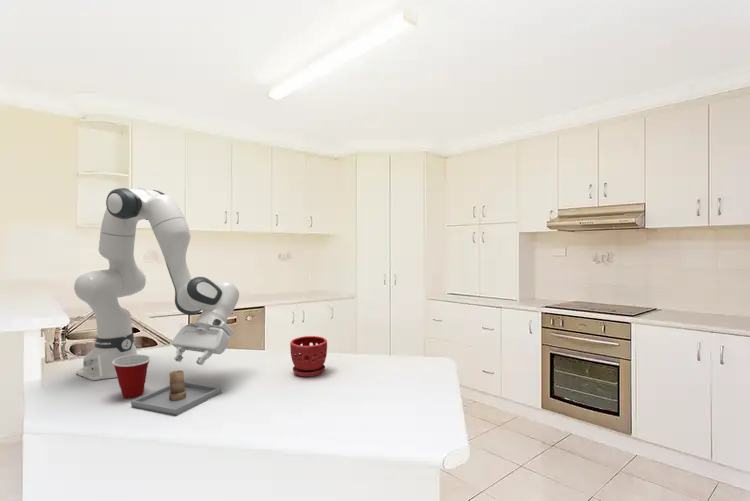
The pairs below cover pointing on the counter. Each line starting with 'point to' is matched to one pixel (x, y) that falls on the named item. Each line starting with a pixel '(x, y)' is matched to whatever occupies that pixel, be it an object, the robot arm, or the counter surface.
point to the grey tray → (162, 404)
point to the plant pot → (308, 355)
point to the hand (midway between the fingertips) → (187, 362)
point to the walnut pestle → (177, 386)
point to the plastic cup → (131, 374)
